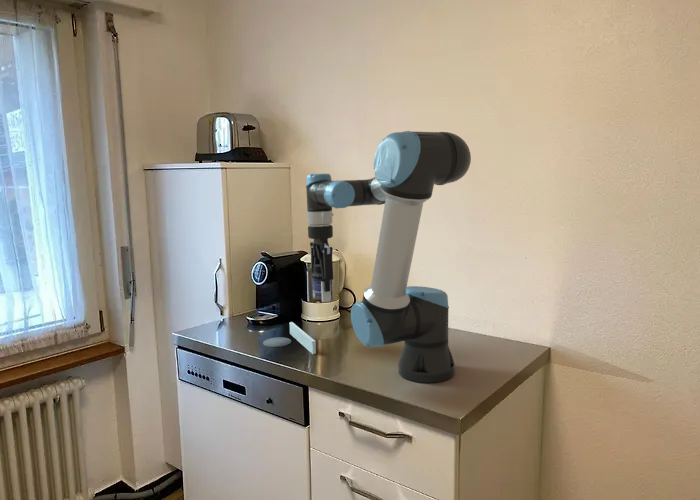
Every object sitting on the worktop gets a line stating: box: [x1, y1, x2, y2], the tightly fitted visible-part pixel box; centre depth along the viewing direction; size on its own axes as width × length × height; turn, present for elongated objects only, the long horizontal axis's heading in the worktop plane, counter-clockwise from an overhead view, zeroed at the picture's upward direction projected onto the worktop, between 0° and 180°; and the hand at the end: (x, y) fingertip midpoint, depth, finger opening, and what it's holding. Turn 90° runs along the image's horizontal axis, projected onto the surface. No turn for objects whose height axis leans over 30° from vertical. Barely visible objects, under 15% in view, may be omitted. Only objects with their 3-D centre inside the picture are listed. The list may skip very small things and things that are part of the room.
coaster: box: [262, 336, 292, 348], centre depth 173 cm, size 9×9×1 cm
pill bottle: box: [311, 264, 333, 303], centre depth 165 cm, size 6×6×11 cm
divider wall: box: [289, 321, 317, 355], centre depth 172 cm, size 23×1×4 cm, turn 24°
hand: (322, 298), depth 166 cm, fingers closed on pill bottle, 6 cm apart
